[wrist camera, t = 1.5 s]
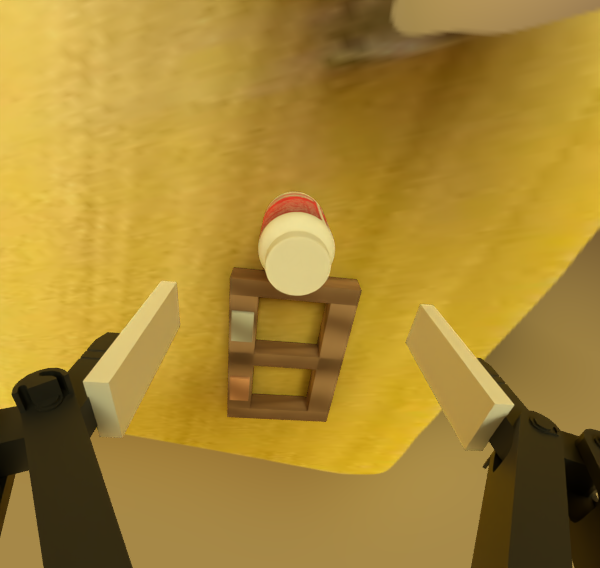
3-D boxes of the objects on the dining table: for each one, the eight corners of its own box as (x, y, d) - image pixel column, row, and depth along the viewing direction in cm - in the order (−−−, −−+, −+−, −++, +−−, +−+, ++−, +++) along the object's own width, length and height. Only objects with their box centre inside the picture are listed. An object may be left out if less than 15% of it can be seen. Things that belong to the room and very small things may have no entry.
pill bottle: (251, 218, 30) (235, 265, 20) (296, 176, 28) (301, 206, 19) (292, 259, 32) (295, 319, 23) (336, 223, 31) (359, 270, 21)
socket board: (233, 267, 33) (229, 279, 30) (356, 279, 34) (362, 292, 31) (230, 401, 43) (226, 419, 41) (324, 406, 44) (326, 424, 42)
